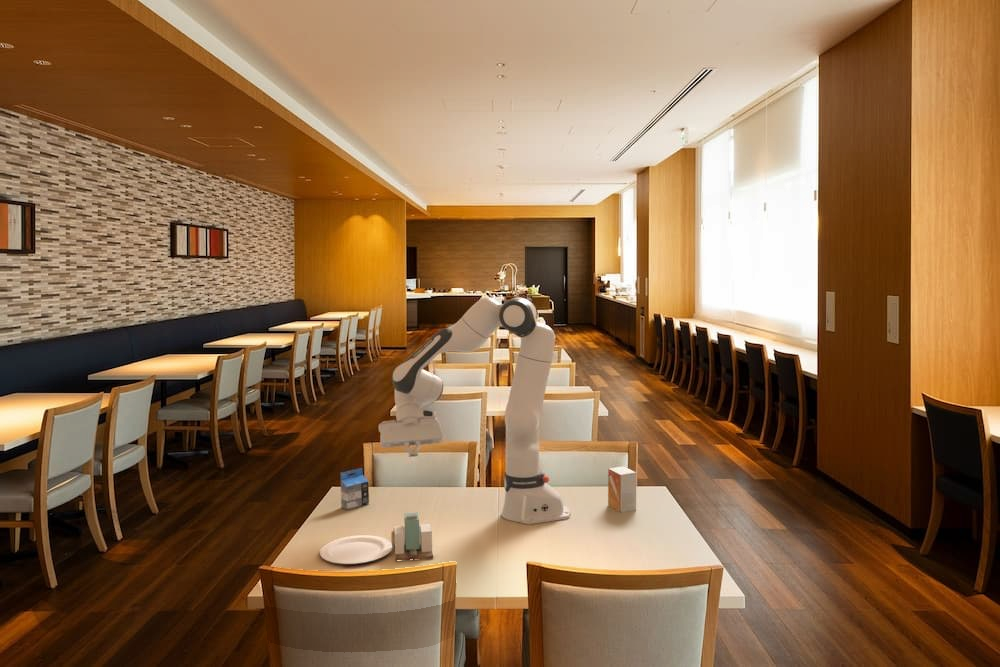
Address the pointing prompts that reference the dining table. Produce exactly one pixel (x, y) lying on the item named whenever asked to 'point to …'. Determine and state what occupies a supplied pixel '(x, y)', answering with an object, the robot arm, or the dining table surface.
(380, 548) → the plate
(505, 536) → the dining table surface
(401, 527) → the mounted modules
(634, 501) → the small box
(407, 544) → the block
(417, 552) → the rail board
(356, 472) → the label tape cartridge
